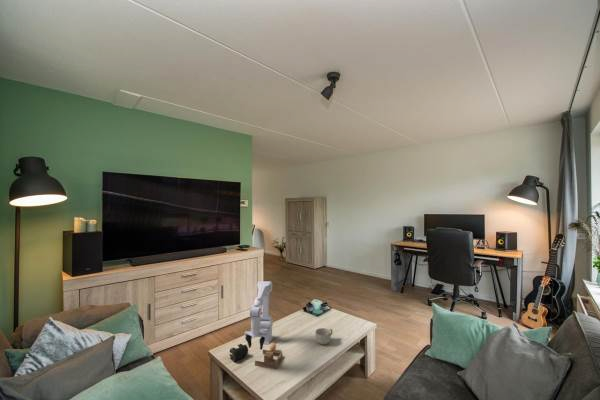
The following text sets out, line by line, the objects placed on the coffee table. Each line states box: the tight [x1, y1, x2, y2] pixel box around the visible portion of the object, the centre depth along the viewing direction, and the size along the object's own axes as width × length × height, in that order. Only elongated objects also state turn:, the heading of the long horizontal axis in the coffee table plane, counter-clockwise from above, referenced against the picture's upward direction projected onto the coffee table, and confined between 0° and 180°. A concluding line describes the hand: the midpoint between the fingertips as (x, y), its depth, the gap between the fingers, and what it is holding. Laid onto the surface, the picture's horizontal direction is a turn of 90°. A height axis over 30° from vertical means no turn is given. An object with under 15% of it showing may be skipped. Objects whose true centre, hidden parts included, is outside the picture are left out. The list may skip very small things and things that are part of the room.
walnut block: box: [263, 352, 274, 363], centre depth 162 cm, size 4×4×4 cm
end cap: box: [229, 343, 249, 362], centre depth 165 cm, size 10×7×7 cm
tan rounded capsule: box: [269, 342, 277, 352], centre depth 172 cm, size 4×4×5 cm
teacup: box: [315, 327, 334, 346], centre depth 184 cm, size 14×11×8 cm
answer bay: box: [254, 349, 283, 370], centre depth 162 cm, size 13×14×2 cm
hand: (255, 347), depth 159 cm, fingers open, 7 cm apart
